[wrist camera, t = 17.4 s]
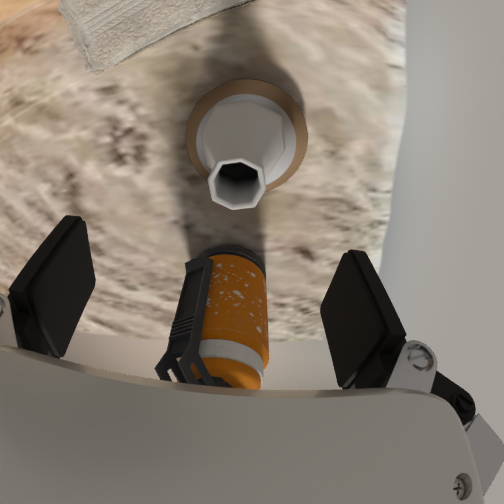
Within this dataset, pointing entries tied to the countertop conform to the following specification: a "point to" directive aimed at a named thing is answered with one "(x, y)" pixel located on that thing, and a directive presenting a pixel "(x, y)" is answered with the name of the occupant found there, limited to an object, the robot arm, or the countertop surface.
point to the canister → (220, 322)
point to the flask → (241, 151)
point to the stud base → (256, 89)
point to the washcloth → (132, 25)
